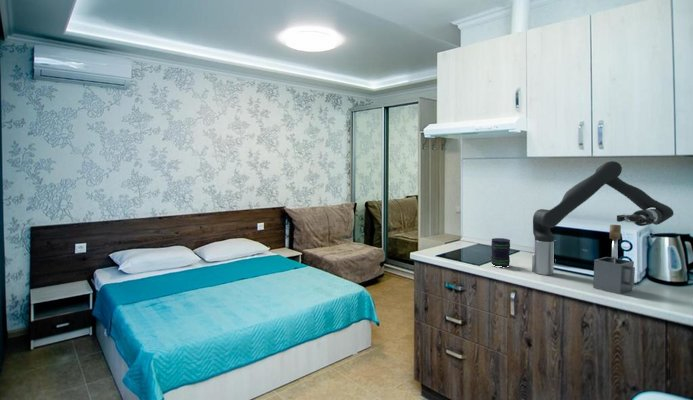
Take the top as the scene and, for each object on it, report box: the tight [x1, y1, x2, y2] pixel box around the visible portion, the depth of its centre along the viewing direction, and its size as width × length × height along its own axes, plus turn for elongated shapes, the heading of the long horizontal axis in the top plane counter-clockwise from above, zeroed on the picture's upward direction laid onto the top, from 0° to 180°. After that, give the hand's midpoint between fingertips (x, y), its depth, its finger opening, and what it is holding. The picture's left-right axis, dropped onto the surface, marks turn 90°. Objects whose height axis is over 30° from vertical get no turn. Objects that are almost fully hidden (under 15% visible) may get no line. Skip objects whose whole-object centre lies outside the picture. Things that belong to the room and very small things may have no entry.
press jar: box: [592, 256, 636, 295], centre depth 175 cm, size 14×11×13 cm
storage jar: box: [490, 237, 511, 267], centre depth 220 cm, size 10×10×15 cm
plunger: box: [609, 224, 622, 263], centre depth 175 cm, size 9×9×22 cm
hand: (628, 220), depth 181 cm, fingers open, 8 cm apart
